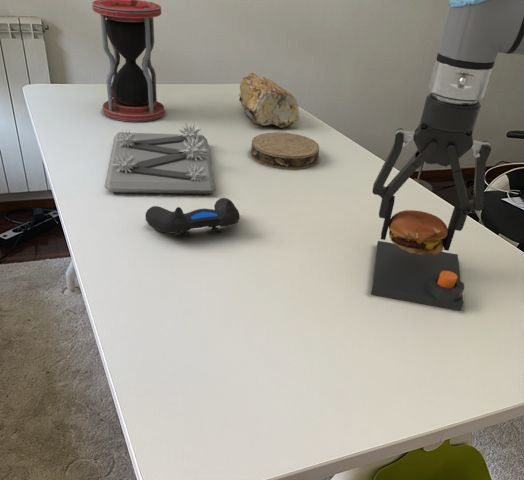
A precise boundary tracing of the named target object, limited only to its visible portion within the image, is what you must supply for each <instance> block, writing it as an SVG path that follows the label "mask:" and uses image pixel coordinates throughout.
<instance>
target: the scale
mask: <svg viewBox="0 0 524 480" xmlns="http://www.w3.org/2000/svg"><path fill="white" fill-rule="evenodd" d="M459 262H460V261H459V254H457V253H452V252H448V251H447V252H446V251H442V252H441V253H439V254H437V255H434V256H432V255H429V254H428V253H425V254H422V255H418V254H416V253H410V252H408V251H406V250H403V249H401V248H399V247H398V246H397V245H396V244H395V243H394V242H389V241H388V242H387V241H383V240H377V243H376V246H375V256H374V263H373V271H372V278H371V279H372V280H371V281H372V282H371V287H370V289H371V290H370V295H373V296H378V297H384V298H389V299H395V300H400V301H405V302H411V303H417V304H422V305H427V306H433V307H438V308H444V309H450V310H455V311H462V309H463V307H464V302H465V301H464V291H465V283H464V282H463V281H462V279H461V271H460V263H459ZM442 271H451V272H453V273H455V274H456V275H457V280H456V283H455V286H454V288H450V289H449V288H444V287H442V286H439V285H438V284H437V282H438V279H439V276H440V273H441V272H442Z"/></svg>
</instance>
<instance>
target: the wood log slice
mask: <svg viewBox="0 0 524 480" xmlns="http://www.w3.org/2000/svg"><path fill="white" fill-rule="evenodd" d="M250 148H251V149H250V155H251V158H252V159H253V160H255V161H256V163H257V162H258V163H259V164H262V165H264V166H268V167H271V168H275V169H276V168H277V169H280V170H281V169H282V170H301V169H302V170H303V169H306V168H311V167H313V166H315V165H316V164H317V163H318V160H319V152H320V145H319V143H318V142H317V141H316V140H315V139H312V138H310V137H308V136H305V135H300V134H297V133H291V132H280V131H276V132H265V133H260V134H258V135H256V136H254V137H253V138H252V140H251V147H250Z"/></svg>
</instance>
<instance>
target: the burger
mask: <svg viewBox="0 0 524 480" xmlns="http://www.w3.org/2000/svg"><path fill="white" fill-rule="evenodd" d="M388 231H389V232H388V235H389V239H390V241H391V243H394V244H396V245H397V246H398V247H399V248H401V249H403V250H406V251H408V252H410V253H416V254H418V255H422V254H425V253H428V254H429V255H432V256H434V255H437V254H439V253H441V252H444V251H443V250H444V240H445V237H446V236H447V234H448V226H447V224H446V223H445V222H444V221H443V220H442V219H441V218H440V217H439V216H437V215H434V214H432V213H429V212H426V211H422V210H413V209H405V210H401V211H398V212H397V213H395V214H393V215H391V218H390V222H389V227H388Z"/></svg>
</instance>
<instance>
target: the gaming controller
mask: <svg viewBox="0 0 524 480" xmlns="http://www.w3.org/2000/svg"><path fill="white" fill-rule="evenodd" d="M213 206H214V207H213V209H212V208H198V209H193V210H192V211H189V212H185V213H184V211H183V209H182V208H181V207H179V206H177V207H176V208H175V210H173V211H171V210H168V209H166V208H165V207H161V206H157V205H154V206H153V205H152V206H150V207H149V208H148V209H147V210H146V211H145V217H144V218H145V222H146V223H147V224H148V226H150V227H151V228H153V229H156V230H158V231H159V232H161V233H163V234H171V233H172V234H178V233H181V236H186V235H189V234H190V232H189V231H190V230H192V229H201V228H207V227H208V228H211V229H210V231H211V232H213V231H218V230H219V228H218V227H220V228H222V227H228V226H235V225H237V224H238V223H239V221H240V219H241V216H240V215H241V214H240V213H239V209H238V207H236V205H235V204H234V203H233V201H232V200H231V199H230V198H227V197H220V198H219V199H218V200H216V202H215V203H214V205H213Z"/></svg>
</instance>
